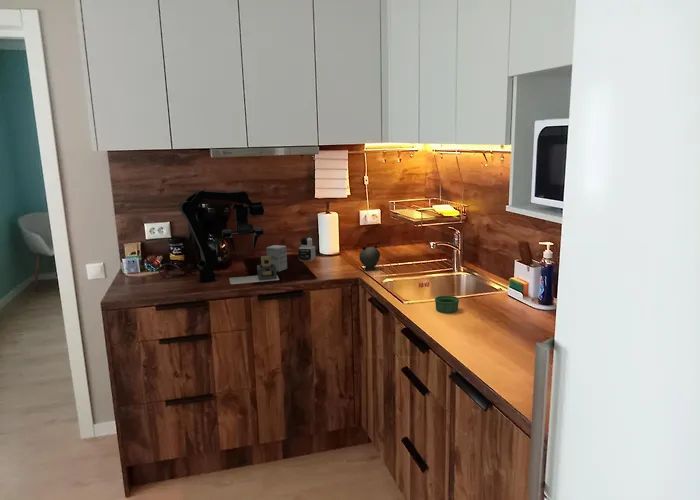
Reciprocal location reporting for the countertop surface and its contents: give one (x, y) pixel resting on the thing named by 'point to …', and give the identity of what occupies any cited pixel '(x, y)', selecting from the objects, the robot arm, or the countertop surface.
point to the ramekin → (446, 304)
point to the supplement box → (278, 256)
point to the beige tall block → (266, 265)
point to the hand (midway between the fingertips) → (244, 250)
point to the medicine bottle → (306, 250)
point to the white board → (247, 279)
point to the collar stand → (260, 270)
